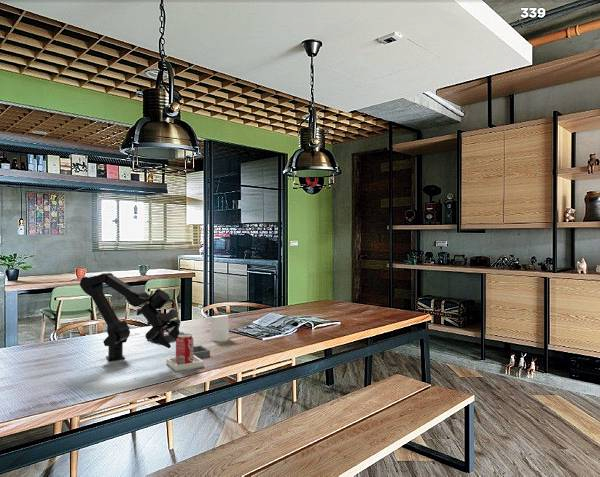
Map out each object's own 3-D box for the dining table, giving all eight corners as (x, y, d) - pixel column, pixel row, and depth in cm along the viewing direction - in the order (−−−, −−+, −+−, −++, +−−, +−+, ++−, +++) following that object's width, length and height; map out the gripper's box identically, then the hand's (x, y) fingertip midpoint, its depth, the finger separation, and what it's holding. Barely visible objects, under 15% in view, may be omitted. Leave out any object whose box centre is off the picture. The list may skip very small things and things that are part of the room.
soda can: (192, 360, 185) (192, 332, 184) (194, 365, 178) (194, 336, 178) (175, 362, 182) (175, 333, 182) (176, 367, 176) (176, 337, 176)
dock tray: (166, 364, 182) (166, 358, 182) (193, 359, 188) (193, 354, 188) (175, 371, 172) (176, 365, 172) (203, 366, 179) (203, 361, 179)
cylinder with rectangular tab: (216, 342, 218) (216, 318, 218) (207, 338, 225) (207, 315, 225) (231, 339, 224) (231, 316, 224) (222, 336, 231) (222, 313, 231)
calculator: (184, 331, 225) (159, 335, 214) (184, 340, 225) (158, 344, 214) (172, 328, 232) (147, 331, 221) (172, 336, 232) (146, 340, 221)
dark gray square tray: (179, 354, 196) (179, 348, 196) (200, 350, 202) (201, 345, 202) (187, 359, 188) (187, 353, 188) (209, 356, 194) (210, 350, 194)
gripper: (152, 307, 173) (176, 337, 171) (177, 300, 191) (199, 327, 189) (134, 325, 175) (158, 355, 173) (161, 316, 193) (182, 343, 191)
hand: (176, 344), depth 181 cm, fingers open, 9 cm apart
